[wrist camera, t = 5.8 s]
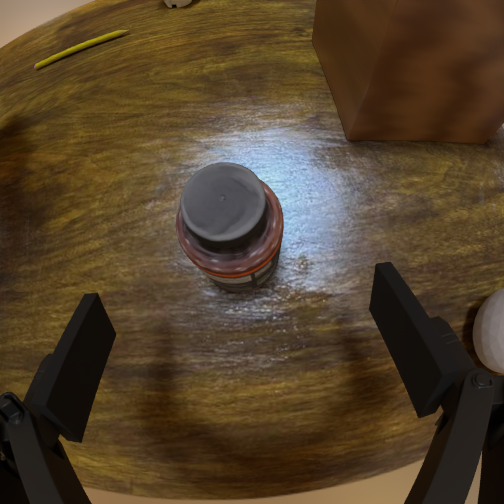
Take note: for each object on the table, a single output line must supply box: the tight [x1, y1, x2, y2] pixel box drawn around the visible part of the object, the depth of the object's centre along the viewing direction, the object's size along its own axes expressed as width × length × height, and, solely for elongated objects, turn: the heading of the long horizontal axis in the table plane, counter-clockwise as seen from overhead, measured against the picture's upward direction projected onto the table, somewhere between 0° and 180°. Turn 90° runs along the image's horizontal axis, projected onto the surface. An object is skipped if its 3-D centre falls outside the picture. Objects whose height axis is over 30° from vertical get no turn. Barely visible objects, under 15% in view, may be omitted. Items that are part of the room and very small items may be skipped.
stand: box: [312, 0, 504, 144], centre depth 19 cm, size 18×16×22 cm
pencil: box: [34, 30, 128, 69], centre depth 33 cm, size 16×1×1 cm, turn 98°
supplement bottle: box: [176, 162, 284, 293], centre depth 20 cm, size 6×6×11 cm
